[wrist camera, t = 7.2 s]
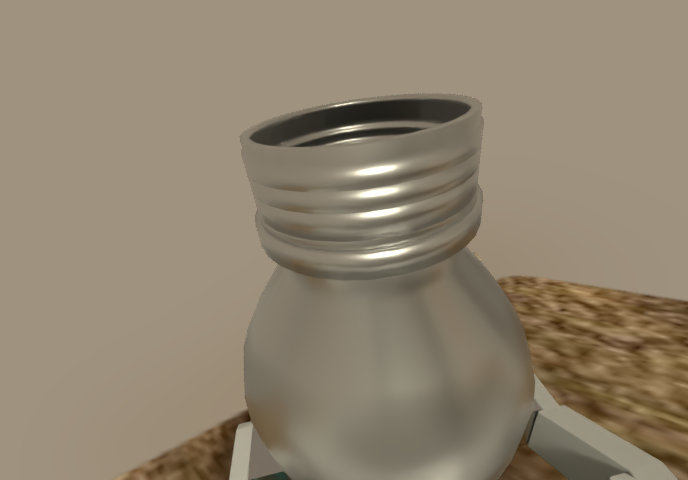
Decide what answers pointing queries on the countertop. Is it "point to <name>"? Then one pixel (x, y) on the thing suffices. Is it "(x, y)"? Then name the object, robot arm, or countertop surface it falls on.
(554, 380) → the countertop surface
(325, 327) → the plastic bottle
